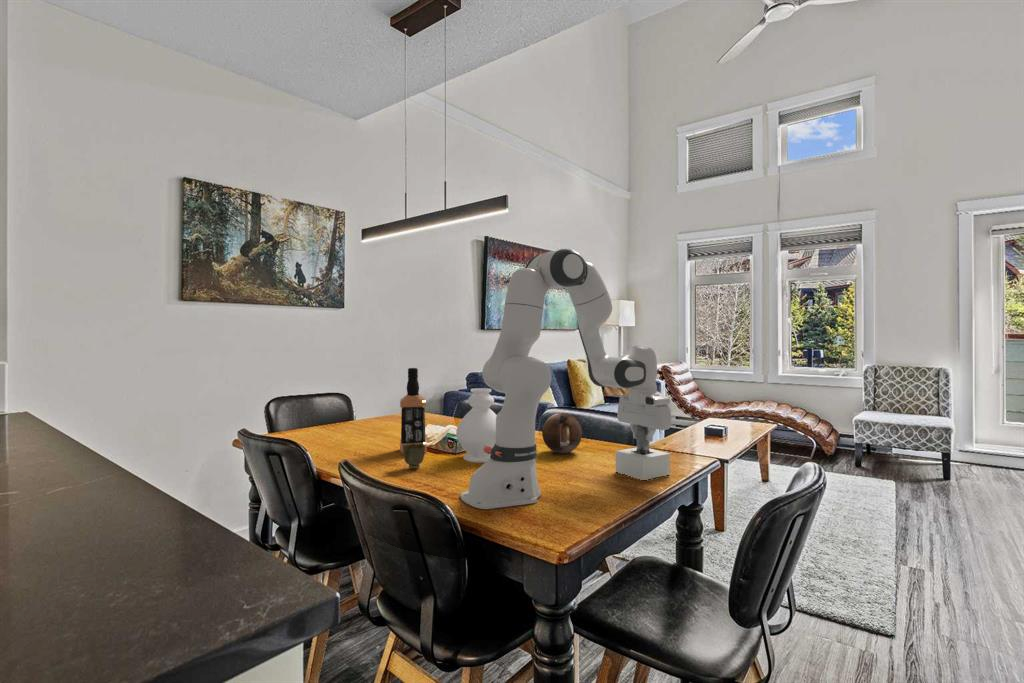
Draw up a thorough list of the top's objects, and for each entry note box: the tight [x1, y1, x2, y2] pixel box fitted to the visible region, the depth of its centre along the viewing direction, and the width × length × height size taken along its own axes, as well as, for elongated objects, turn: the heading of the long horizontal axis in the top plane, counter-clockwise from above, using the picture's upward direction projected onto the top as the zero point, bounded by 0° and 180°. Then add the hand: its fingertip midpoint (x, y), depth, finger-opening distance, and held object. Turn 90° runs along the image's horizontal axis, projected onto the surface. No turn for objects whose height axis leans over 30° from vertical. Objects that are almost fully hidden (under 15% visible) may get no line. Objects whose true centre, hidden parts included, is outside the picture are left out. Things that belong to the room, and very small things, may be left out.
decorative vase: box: [455, 387, 497, 463], centre depth 187 cm, size 18×18×25 cm
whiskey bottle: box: [399, 367, 428, 456], centre depth 197 cm, size 10×10×32 cm
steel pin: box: [636, 425, 650, 455], centre depth 166 cm, size 4×4×12 cm
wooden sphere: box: [541, 412, 583, 454], centre depth 195 cm, size 15×15×15 cm
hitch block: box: [615, 446, 671, 481], centre depth 166 cm, size 12×12×7 cm
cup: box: [403, 443, 426, 471], centre depth 172 cm, size 8×7×8 cm
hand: (642, 439), depth 166 cm, fingers closed on steel pin, 4 cm apart
